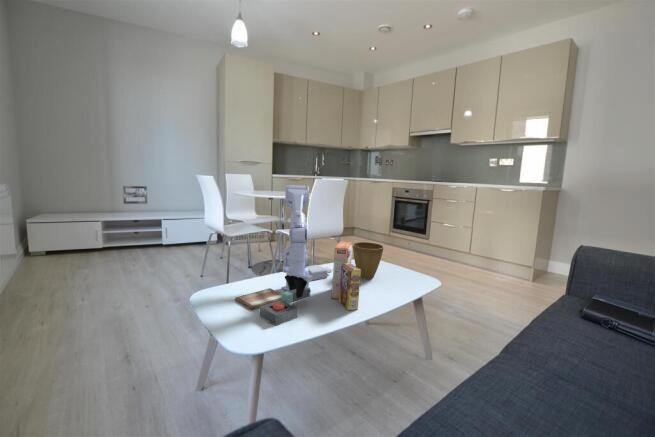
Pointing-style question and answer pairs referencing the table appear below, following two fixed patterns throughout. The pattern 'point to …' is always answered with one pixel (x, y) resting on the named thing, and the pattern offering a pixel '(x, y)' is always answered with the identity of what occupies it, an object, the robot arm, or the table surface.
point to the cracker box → (340, 257)
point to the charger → (318, 272)
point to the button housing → (278, 313)
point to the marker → (292, 297)
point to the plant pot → (367, 258)
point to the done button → (278, 306)
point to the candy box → (349, 286)
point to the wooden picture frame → (259, 298)
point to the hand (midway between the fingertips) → (296, 295)
